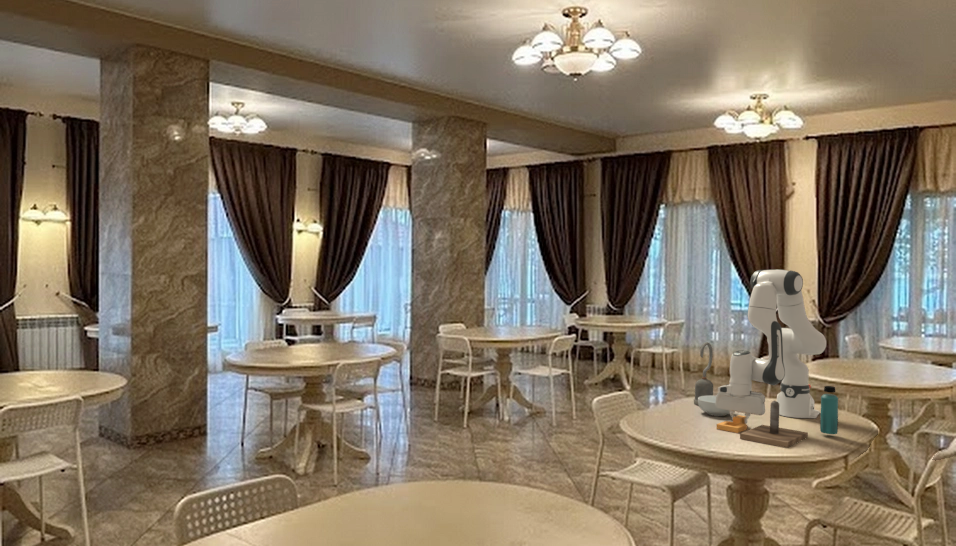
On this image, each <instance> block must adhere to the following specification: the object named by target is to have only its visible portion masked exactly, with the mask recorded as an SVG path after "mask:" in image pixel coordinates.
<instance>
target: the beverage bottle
mask: <svg viewBox="0 0 956 546" xmlns="http://www.w3.org/2000/svg"><path fill="white" fill-rule="evenodd" d="M823 391H824V392H825V393H824V394H822V395H821V396H820V413H819V415H820V416H819V419H820V420H819V429H820V430H819V431H820V432H821V433H822V434H827V435H837V434H838V432H839V397H838V396H837V395H835V394H833V393H836V387H835V386H832V385H825V386H824V387H823Z"/></svg>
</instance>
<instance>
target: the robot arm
mask: <svg viewBox="0 0 956 546" xmlns="http://www.w3.org/2000/svg"><path fill="white" fill-rule="evenodd" d="M749 282H750V283H749V284H750V287H751V290H752V291H751V294H750V298H749V302H748V309H747V319H748V322H749V323H750V324H751V326H753V327H754V328H755V329H756V330H758V331H759V332H761V333H763V334H764V335H765V337H766V338H767V340H766V341H767V342H766V343H767V344H768V359H764V358H759V357H756V356H754V355H753V354H751V353H752V352H751V351H749V350H746V349H745V350H744V349H743V350H735V351H734V352H732V354H731V357H730V359H729V360H730V363H729V374H730V378H729V380H728V381H729V384H728V383H727V384H724V385H721V386H718V387H717V393H716V395H715V396H716V402H715V406H716V407H717V408H718V409H724V410H729V415H730V417H731V422H733V417H735V414H734V413H735V412H737V413H743V414H744V416H746V417H745V419H742V423H744V424H747V425H748V419H749V418H750V417H751V415H756V416H763V415H765V414H766V406H765V405H766V404H765V402H766V396H765V395H764V394H763V393H762V392H760V391H759V392H758V391H754V390H752V388H753V387H752V386H753V382H752V381H756V382H761V383H764V384H766V385H767V384H768V385H771V386H777V385H778V384H780V386H779V387H780V388H779V389H780V392H778V393H777V396H776V401H777V402H778V403H779V416H783V417H786V418H795V419H796V418H798V419H817V417H818V416H819V415H820V413H821V410H818V409H815V400H814V398H813V396H812V395H811V393H810V392H811V391H810V389H811V388H812V386H811V384H809V376H810V375H809V373H810V372H809V370H810V369H809V367H808V365H807V364H806V363H804V362H803V361H801V360H800V358H799V357H798V355H807V356H811V355H812V356H814V355H815V356H817V355H820V354H822V353H824V352H825V350H826V347H827V339H826V336H825V335H824V334H823V333H822V332H820V331H819V330H818V329H816V328H815V326H814V325H813V324H812V323H811V322H810V320H809V318H808V315H807V312H806V307H805V302H804V296H803V292H802V289H803V286H804V280H803V276H802V275H801V274H800V273H799V272H798V271H795V270H786V269H759V270H756V271H754V272H753V274H751V277H750V281H749ZM777 313H778V318H779V320H780V321H781V322H782V323H783V324H785V325H786V326H787V327H788V328H787V327H782V326H781V325H782V324H780V323H779V322H778V319H777Z"/></svg>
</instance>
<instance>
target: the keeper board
mask: <svg viewBox="0 0 956 546" xmlns="http://www.w3.org/2000/svg"><path fill="white" fill-rule="evenodd" d="M769 413H770V416H769V418H770V419H769V425H767V424H761V425H758V426H755V427H753V428H751V429H747V430H744V431H742V432H739V439H740V440H745V441H750V442H756V443H762V444H764V445H765V444H766V445H771V446H776V447H782V448H789V447H793V446H794V445H796V444H798V443H800V442H802V441H804V440H806V439H808V438H809V437H808V436H809V433H808V432H807V431H801V430H800V431H799V430H796V429H795V430H794V429H788V428H783V427H780V415H779V403H778V402H777V400H774V401H772V402H770V412H769ZM805 438H806V439H805ZM803 439H804V440H803ZM801 440H802V441H801ZM799 441H800V442H799ZM797 442H798V443H797ZM795 443H796V444H795Z"/></svg>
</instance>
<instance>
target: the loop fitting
mask: <svg viewBox="0 0 956 546" xmlns="http://www.w3.org/2000/svg"><path fill="white" fill-rule="evenodd" d="M745 417H746V416H745V415H739V414H737V415H736V416H735V417H733V421H731V420H730V421H728V420H724V421H722V422H718V423H716V430H719V429H720V431H724V432H725V431H726V432H730V433H731V432H732V433H734V434H735V433H737V434H738V433H739V434H740V433H743V432H745V431H748V423H747V424H744V423H742V419H745Z"/></svg>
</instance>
